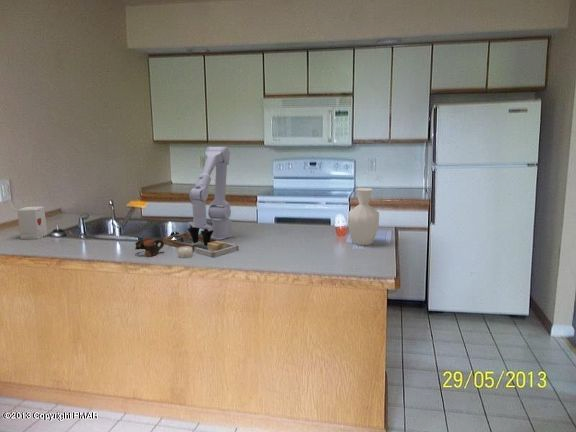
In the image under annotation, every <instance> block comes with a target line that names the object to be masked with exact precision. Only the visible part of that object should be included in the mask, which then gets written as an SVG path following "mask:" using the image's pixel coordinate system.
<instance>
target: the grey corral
mask: <svg viewBox="0 0 576 432" xmlns="http://www.w3.org/2000/svg"><path fill="white" fill-rule="evenodd" d="M225 243H226V248H225V249H221V250H218V251H214V252H213V251H209V250H208V249H204V248H200V247H199V246H198V247H194V252H195V253H196V254H199V255H203V256H205V257H207V256H208V257H210V258H216V257H219V256H223V255H226V254H230V253H233V252H236V251H237V252H238V251H239V245H237V244H235V243H234V244H233V243H229V242H225Z"/></svg>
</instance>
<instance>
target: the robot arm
mask: <svg viewBox="0 0 576 432" xmlns="http://www.w3.org/2000/svg"><path fill="white" fill-rule="evenodd" d="M204 154H205V155H204V156H205V159H206V160H205V164H204V167H203V170H202V173H200V174H198V177H197V179H196V182H195V184H194V187H193V188H192V189H191V190H190V191H189V195H188V197H189V200H190V204H191V205H192V216H193V217H192V218H193V221H189V222H187V223H188V225H187V226H188V228H187V231H188V233H190V234H191V237H192V239H193V240H192V239H191V240H192V242H193V244H197V243H199V241H198V235H199V233H201V236H203V241H204V242H203V245H204V247H208V244H207V243H209V242H210V238H213V239H217V241H221V240H225V239H229V238H233V237H235V235H233V234H234V231H233V228H234V227H233V222H232V220H231V219H230V217H231V215H232V214H231V212H232V210H231V204H230V203H229V202H228V201H227V200H226V190H227V189H226V188H227V186H226V185H227V172H228V171H227V169H228V165H229V164H230V155H231V154H230V151H229V148H228V147H227V146H210V145H209V146H207V147H206V150H205V153H204ZM214 168H215V179H214V180H215V181H214V182H215V184H214V198H213V200H212V201H210V203H209V207H208V209H207V205H206V201H207V200H208V198H209V186H210V183H211V181H212V177H211V175H212V174H213V170H214ZM207 214H208V215H207ZM207 216H208V218H210V220H211V222H212V223H211V224H212V225H210V224H209V223H207ZM200 230H201V231H200ZM199 231H200V232H199Z"/></svg>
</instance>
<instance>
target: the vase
mask: <svg viewBox="0 0 576 432" xmlns="http://www.w3.org/2000/svg"><path fill="white" fill-rule="evenodd" d="M355 192H356V196H357V200H358V203H359V204H358V205H356V206H355V207H353V208H352V209H351V210H349V211H348V213H347V225H348V229H349V230H348V231H349V234H350V239H351V241H352V243H353V244H354V245H358V246H370V245H372V244H373V242H374V240H375V239H376V237H377V233H378V230H379V226H380V225H379V224H380V223H379V222H380V212H379V211H377V210H376V209H375V208H373V207H372V205H370V199H371V197H372V192H373V188H368V187H367V188H365V187H363V188H361V187H358V188H356V189H355Z"/></svg>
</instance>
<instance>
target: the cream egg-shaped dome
mask: <svg viewBox="0 0 576 432" xmlns="http://www.w3.org/2000/svg"><path fill="white" fill-rule="evenodd" d="M193 252H194V251H192V247H190V246H183V247H179V248H178V247H177V255H178V256H177V257H178V258H181V259H189V258H192V257H193V256H194V254H193ZM188 257H189V258H188Z"/></svg>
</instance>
